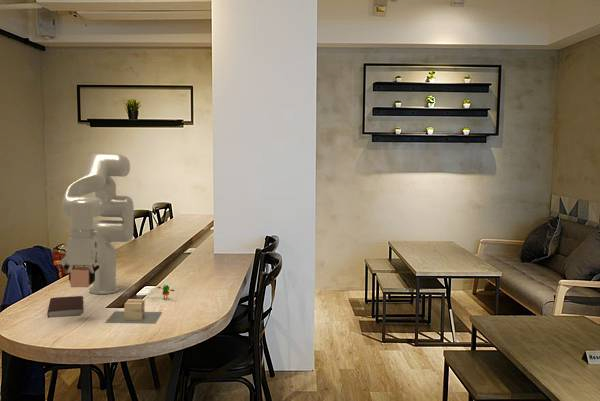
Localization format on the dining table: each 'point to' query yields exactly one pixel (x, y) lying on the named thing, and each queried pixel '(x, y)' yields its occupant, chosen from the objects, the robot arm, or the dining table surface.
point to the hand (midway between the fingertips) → (82, 282)
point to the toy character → (165, 291)
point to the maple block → (134, 309)
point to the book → (65, 306)
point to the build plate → (147, 319)
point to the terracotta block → (80, 277)
